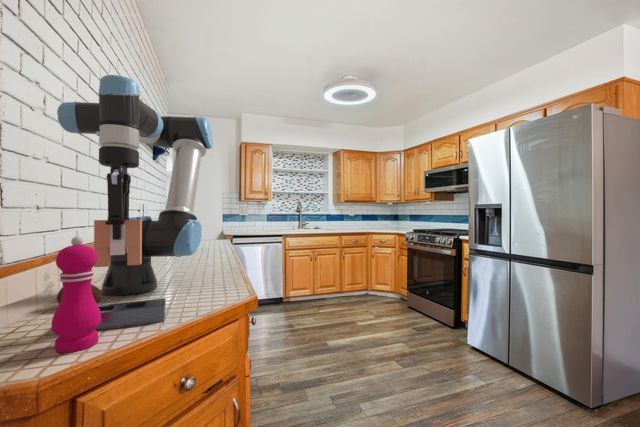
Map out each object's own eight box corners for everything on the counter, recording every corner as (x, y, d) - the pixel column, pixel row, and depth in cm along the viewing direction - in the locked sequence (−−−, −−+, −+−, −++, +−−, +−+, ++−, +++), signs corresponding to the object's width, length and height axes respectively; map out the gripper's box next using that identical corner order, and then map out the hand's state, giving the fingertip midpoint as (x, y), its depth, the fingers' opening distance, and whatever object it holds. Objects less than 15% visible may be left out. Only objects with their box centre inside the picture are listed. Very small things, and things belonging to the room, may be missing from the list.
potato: (93, 309, 78) (93, 282, 78) (47, 311, 77) (47, 283, 77) (107, 302, 85) (107, 276, 85) (65, 303, 84) (65, 278, 84)
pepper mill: (74, 356, 52) (74, 238, 52) (40, 352, 54) (40, 237, 54) (110, 339, 59) (110, 235, 60) (79, 336, 61) (80, 235, 61)
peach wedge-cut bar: (97, 265, 68) (97, 220, 68) (141, 262, 72) (141, 219, 72) (93, 267, 65) (94, 220, 65) (140, 264, 69) (140, 219, 69)
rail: (74, 323, 68) (74, 307, 68) (165, 312, 76) (165, 298, 76) (63, 334, 62) (63, 317, 62) (164, 321, 69) (164, 305, 69)
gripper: (106, 153, 75) (106, 251, 74) (89, 138, 60) (88, 259, 60) (142, 156, 78) (142, 249, 77) (134, 142, 63) (134, 257, 63)
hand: (119, 253), depth 69 cm, fingers closed on peach wedge-cut bar, 3 cm apart
